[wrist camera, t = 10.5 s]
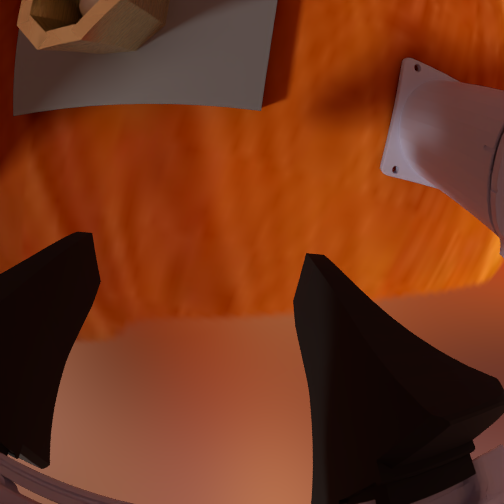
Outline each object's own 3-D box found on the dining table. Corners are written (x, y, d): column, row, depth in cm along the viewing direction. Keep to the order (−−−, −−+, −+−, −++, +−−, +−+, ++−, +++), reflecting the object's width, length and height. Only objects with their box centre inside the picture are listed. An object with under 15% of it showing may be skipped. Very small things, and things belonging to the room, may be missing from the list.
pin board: (284, -51, 10) (299, -94, 5) (259, 108, 15) (266, 119, 11) (44, -27, 8) (-3, -40, 3) (26, 112, 14) (-28, 131, 9)
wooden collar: (175, -29, 9) (143, -76, 4) (161, 49, 12) (116, 34, 7) (92, -18, 9) (34, -43, 4) (79, 57, 11) (12, 57, 6)
